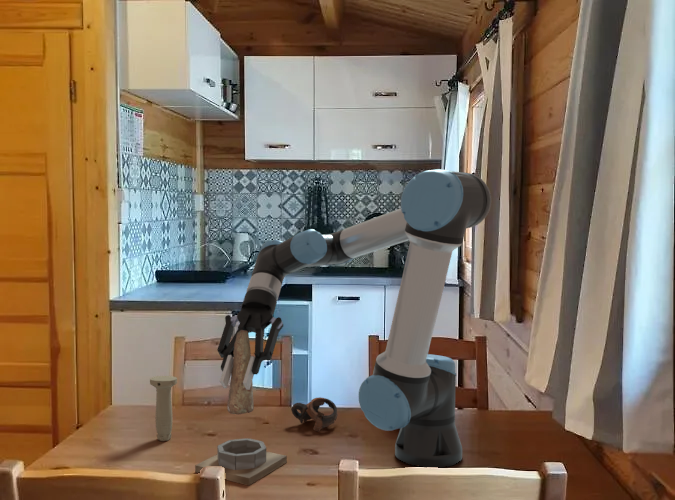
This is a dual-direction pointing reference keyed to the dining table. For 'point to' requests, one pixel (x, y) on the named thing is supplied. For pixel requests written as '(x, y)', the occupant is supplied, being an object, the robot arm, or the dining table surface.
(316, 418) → the dark twisted loops
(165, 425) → the handle
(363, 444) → the dining table surface
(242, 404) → the tapered stone pillar
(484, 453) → the dining table surface
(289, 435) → the dining table surface
